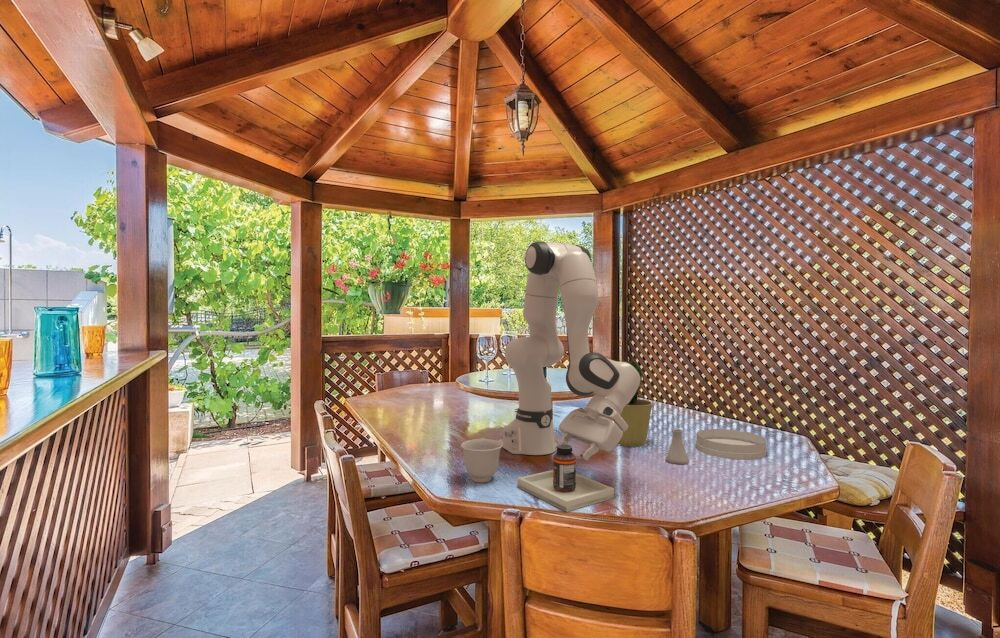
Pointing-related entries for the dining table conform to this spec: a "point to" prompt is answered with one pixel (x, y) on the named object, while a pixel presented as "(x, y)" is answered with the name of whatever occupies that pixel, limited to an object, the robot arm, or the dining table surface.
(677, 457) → the flask
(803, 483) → the dining table surface
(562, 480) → the supplement bottle
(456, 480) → the dining table surface
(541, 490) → the tray
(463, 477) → the dining table surface
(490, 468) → the teacup
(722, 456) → the dish
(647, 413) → the potted cactus
